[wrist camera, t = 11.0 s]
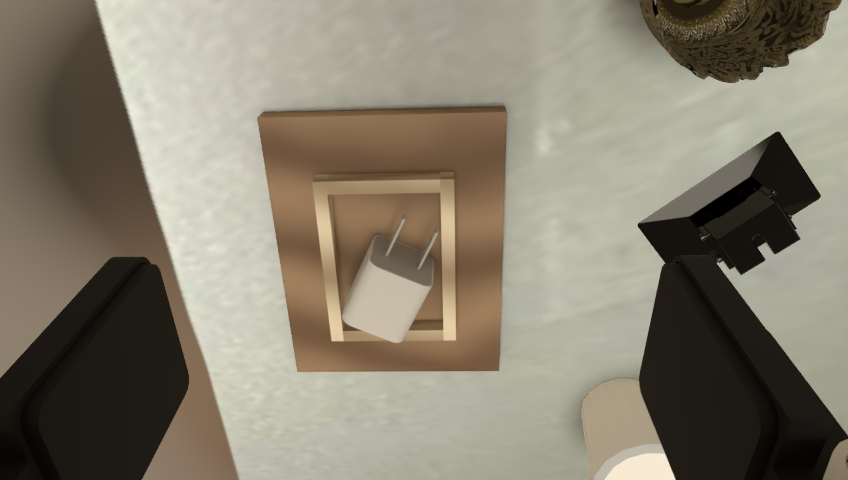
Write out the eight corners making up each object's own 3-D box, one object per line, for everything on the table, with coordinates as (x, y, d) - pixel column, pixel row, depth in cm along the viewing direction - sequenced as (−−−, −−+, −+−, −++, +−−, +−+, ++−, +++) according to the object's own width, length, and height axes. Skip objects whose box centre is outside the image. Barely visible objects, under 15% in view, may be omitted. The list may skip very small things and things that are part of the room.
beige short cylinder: (669, 436, 45) (704, 516, 39) (577, 448, 46) (597, 528, 40) (665, 364, 42) (704, 438, 36) (567, 378, 43) (587, 453, 37)
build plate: (665, 298, 41) (690, 339, 37) (605, 223, 38) (625, 257, 34) (846, 187, 37) (896, 219, 33) (791, 96, 34) (838, 117, 30)
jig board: (263, 112, 35) (251, 123, 33) (504, 106, 35) (508, 117, 32) (301, 361, 43) (293, 383, 41) (497, 359, 43) (500, 382, 40)
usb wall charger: (349, 286, 39) (340, 322, 35) (391, 196, 36) (385, 225, 32) (406, 309, 40) (402, 346, 36) (452, 222, 37) (452, 253, 33)
